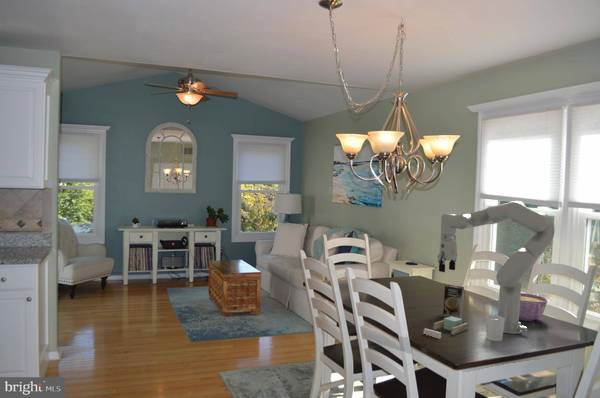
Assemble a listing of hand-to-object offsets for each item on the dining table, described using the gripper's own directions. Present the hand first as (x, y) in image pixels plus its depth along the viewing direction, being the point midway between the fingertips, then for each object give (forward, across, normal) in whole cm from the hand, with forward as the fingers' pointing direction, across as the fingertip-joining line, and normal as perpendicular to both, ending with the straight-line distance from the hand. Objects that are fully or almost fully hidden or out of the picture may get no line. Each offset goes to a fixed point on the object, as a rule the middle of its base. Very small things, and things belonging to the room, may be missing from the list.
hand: (447, 270), depth 258 cm
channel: (+25, -16, -12) cm, 32 cm away
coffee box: (+25, +6, -1) cm, 26 cm away
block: (+25, -14, -12) cm, 31 cm away
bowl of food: (+26, +36, -26) cm, 51 cm away
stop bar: (+25, -32, -13) cm, 43 cm away
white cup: (+26, -12, -32) cm, 43 cm away
